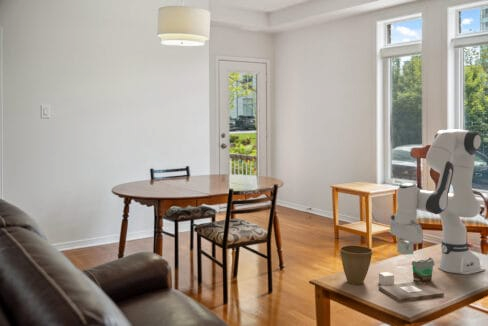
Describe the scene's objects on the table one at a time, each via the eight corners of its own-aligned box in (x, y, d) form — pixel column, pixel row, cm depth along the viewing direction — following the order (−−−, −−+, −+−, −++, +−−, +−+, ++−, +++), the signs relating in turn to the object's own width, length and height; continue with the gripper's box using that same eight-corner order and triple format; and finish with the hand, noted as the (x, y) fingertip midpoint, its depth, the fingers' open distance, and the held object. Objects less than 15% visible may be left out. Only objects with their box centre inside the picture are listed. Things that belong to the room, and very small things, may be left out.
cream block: (387, 282, 225) (388, 271, 224) (394, 285, 220) (394, 275, 220) (378, 283, 224) (378, 272, 223) (384, 286, 219) (384, 276, 218)
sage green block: (406, 251, 221) (407, 240, 220) (413, 254, 216) (413, 243, 216) (397, 251, 220) (397, 241, 219) (403, 254, 215) (404, 244, 214)
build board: (420, 284, 221) (420, 280, 221) (443, 296, 206) (443, 292, 206) (378, 289, 215) (379, 285, 215) (399, 302, 200) (399, 298, 200)
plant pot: (356, 289, 215) (356, 255, 214) (333, 280, 228) (333, 248, 226) (378, 283, 223) (379, 250, 222) (355, 274, 236) (356, 243, 234)
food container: (421, 285, 220) (421, 264, 219) (411, 281, 225) (411, 260, 224) (439, 280, 226) (440, 260, 225) (429, 277, 231) (429, 257, 230)
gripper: (426, 223, 207) (425, 253, 208) (399, 214, 227) (398, 242, 228) (414, 223, 206) (413, 254, 207) (388, 215, 225) (387, 243, 226)
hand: (405, 248), depth 218 cm, fingers closed on sage green block, 5 cm apart
